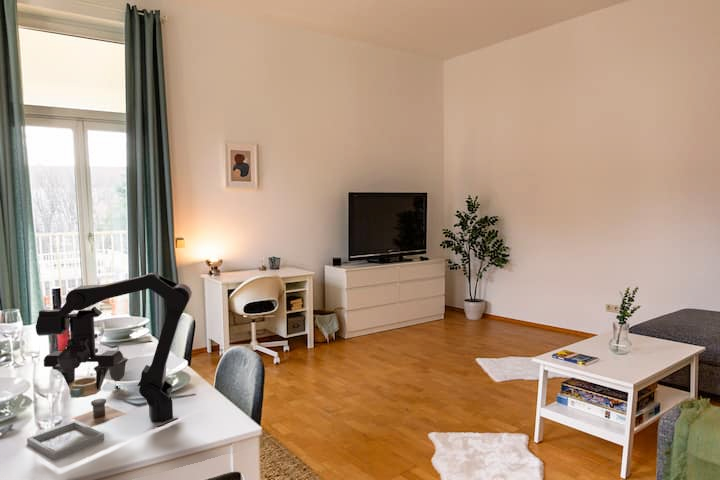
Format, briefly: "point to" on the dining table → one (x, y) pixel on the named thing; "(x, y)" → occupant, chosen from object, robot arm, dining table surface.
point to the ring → (83, 387)
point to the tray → (54, 454)
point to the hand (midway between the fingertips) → (85, 389)
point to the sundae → (118, 370)
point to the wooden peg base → (98, 413)
